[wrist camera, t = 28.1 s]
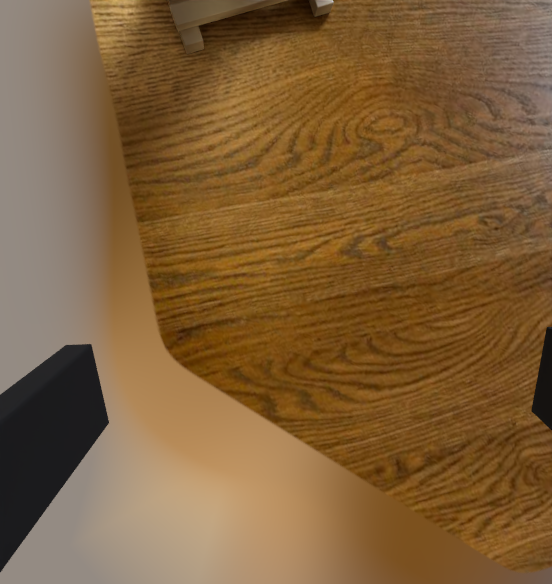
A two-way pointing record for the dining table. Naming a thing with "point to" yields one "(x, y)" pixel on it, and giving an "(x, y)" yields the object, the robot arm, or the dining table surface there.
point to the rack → (220, 15)
